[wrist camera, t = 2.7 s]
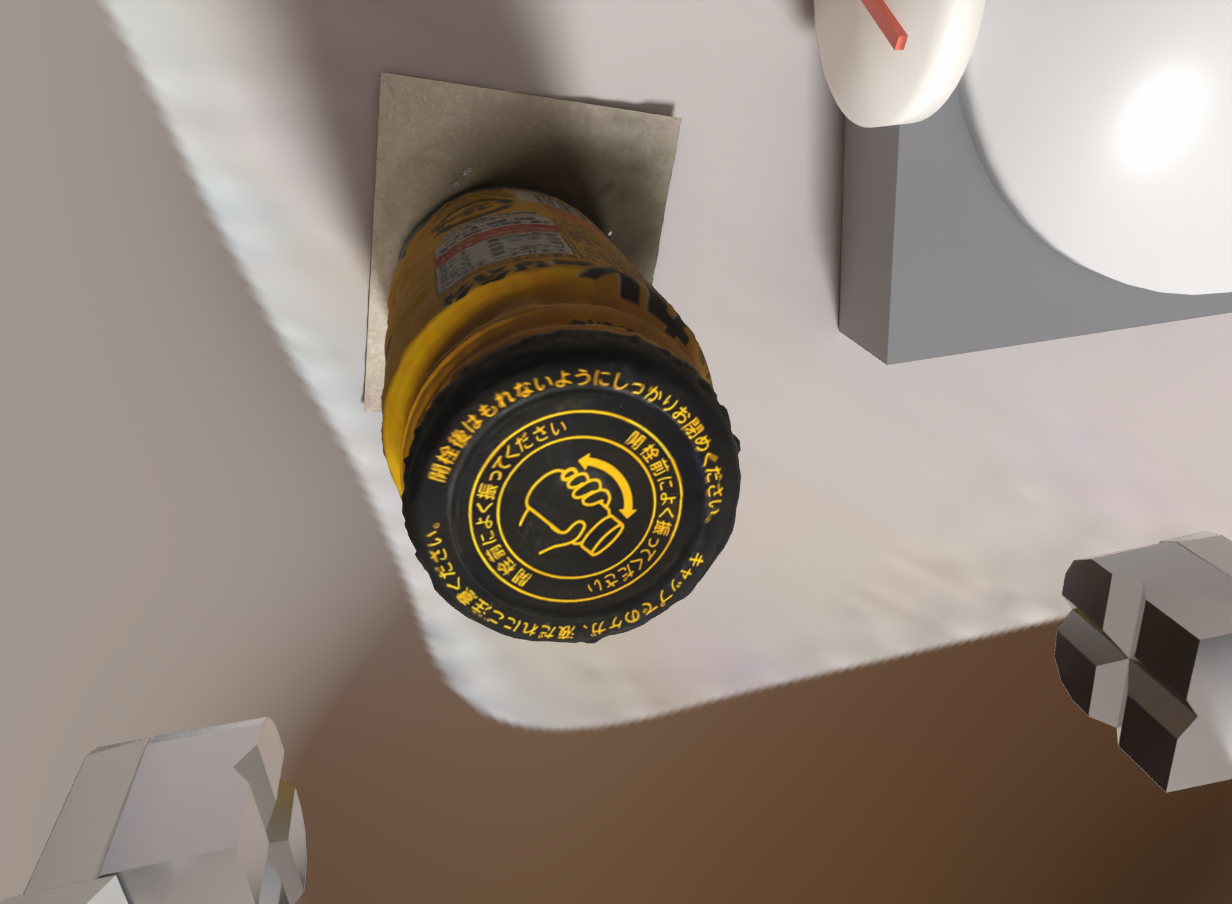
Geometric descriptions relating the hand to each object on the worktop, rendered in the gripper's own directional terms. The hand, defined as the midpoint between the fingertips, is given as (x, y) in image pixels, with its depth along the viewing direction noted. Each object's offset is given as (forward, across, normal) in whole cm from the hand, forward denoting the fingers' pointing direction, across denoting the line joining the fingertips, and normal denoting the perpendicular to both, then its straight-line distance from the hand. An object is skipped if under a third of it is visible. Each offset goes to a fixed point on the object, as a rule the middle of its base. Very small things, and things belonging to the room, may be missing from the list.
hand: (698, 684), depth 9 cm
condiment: (+17, 0, 0) cm, 17 cm away
